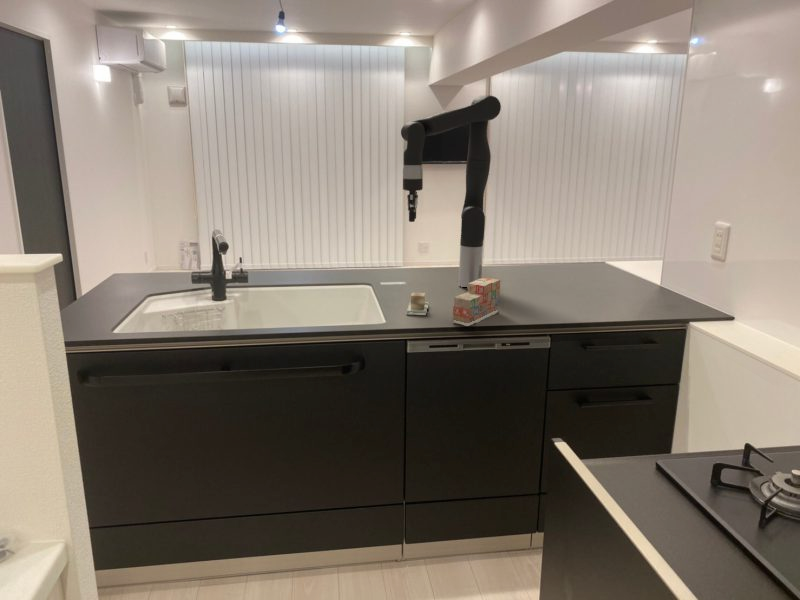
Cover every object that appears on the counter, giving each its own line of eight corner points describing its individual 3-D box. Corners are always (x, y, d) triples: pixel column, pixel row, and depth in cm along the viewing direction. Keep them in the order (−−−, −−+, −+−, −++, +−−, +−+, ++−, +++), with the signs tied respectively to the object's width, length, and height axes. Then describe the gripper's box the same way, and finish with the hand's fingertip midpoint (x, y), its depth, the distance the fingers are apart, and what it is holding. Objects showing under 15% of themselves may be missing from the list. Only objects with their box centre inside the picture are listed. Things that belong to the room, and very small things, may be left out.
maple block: (424, 306, 212) (424, 292, 211) (423, 309, 207) (424, 296, 206) (411, 305, 212) (412, 292, 211) (410, 309, 208) (410, 295, 207)
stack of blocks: (468, 327, 193) (470, 291, 189) (452, 324, 196) (453, 288, 193) (498, 312, 209) (500, 279, 206) (483, 309, 213) (484, 276, 210)
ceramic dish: (428, 306, 216) (428, 302, 215) (426, 315, 204) (426, 311, 204) (409, 305, 216) (409, 301, 216) (406, 314, 205) (406, 310, 204)
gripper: (421, 178, 216) (421, 222, 220) (423, 176, 230) (423, 217, 234) (401, 178, 217) (401, 222, 221) (404, 176, 230) (404, 217, 235)
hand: (412, 220), depth 227 cm, fingers open, 8 cm apart
